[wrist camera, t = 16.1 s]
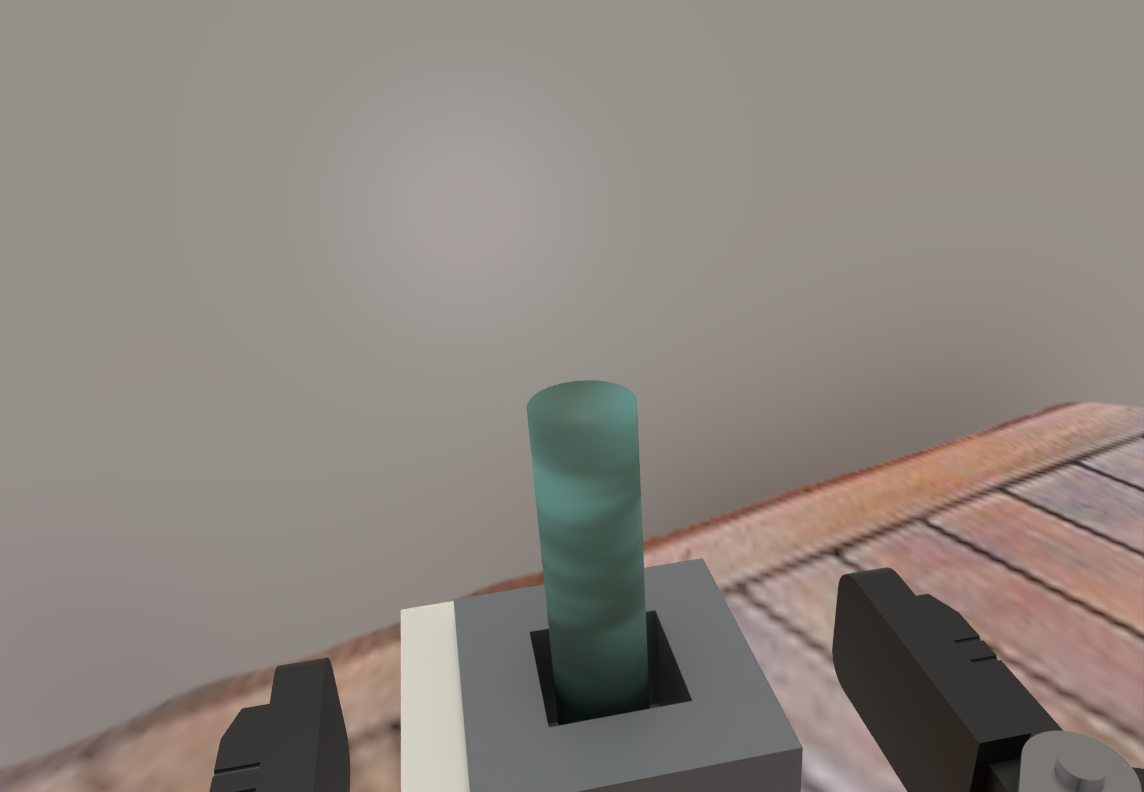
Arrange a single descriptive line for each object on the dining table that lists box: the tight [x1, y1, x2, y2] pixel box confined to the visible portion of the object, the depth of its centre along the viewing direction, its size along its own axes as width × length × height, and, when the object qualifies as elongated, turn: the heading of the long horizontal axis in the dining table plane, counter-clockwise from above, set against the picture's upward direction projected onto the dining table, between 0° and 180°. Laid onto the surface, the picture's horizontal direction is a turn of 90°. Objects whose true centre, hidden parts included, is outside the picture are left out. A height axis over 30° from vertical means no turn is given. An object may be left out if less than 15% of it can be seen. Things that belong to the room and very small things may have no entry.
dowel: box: [527, 381, 650, 726], centre depth 33 cm, size 4×4×16 cm
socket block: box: [453, 558, 803, 792], centre depth 36 cm, size 11×11×7 cm
